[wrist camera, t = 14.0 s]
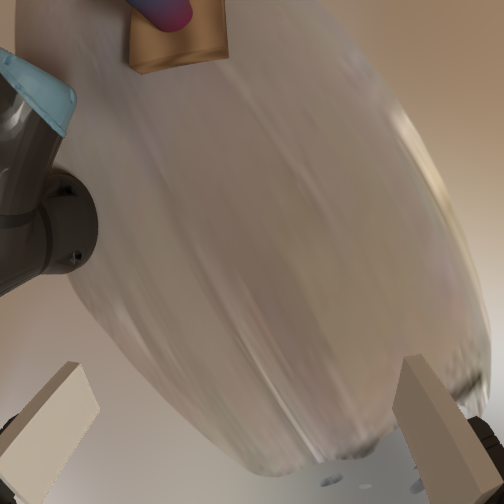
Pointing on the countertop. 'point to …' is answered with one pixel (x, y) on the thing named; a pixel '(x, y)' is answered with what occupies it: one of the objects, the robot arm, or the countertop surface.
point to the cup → (165, 13)
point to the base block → (179, 39)
